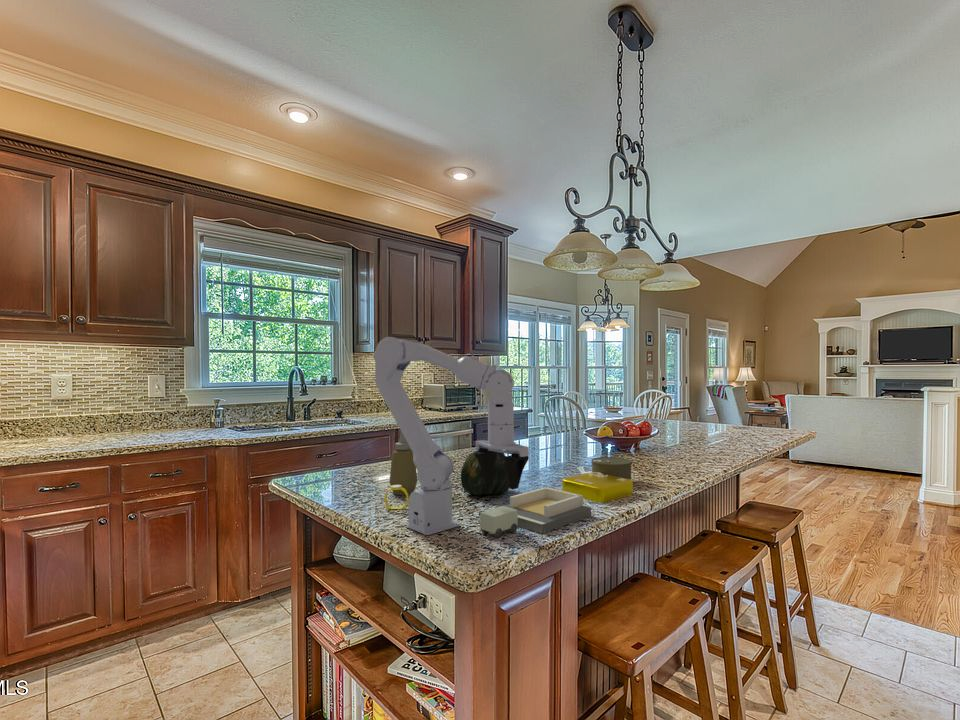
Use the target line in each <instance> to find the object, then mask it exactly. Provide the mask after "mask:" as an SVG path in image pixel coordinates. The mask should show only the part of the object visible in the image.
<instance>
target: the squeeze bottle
mask: <svg viewBox="0 0 960 720" xmlns="http://www.w3.org/2000/svg"><path fill="white" fill-rule="evenodd" d="M394 446H395V447H394V449H395V450H393V451H392V453H391V460H390V461H391V463H390V471H389V484H390V487H391V486H392V485H401V486H402V488H404V489H405V490H406V491H407V493H408V495H410V494H411V493H412V492H413V491H416V488H417V487H416V486H417V483H418V476H417V468H416V466H415V464H414V461H413V451H412V450H411V448H410V446H409V444H408V442H407V440H406V439H405V437H404V435H403V433H402V431H401V430H400V435H399V440H398V442H396V443H394ZM391 491H392V493H393V495H397V496H406V494H405V493H404V491H402V490H400V489H399V490H391Z"/></svg>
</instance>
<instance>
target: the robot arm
mask: <svg viewBox="0 0 960 720" xmlns="http://www.w3.org/2000/svg"><path fill="white" fill-rule="evenodd" d="M372 356H373V359H374V362H375V366H374V368H375V369H374V372H375V377H374V379H375V380H374V381H375V385H376V388H377V389H378V391H379V394H380V396H381V397H382V398H383V401H384V403H385V404H386V405H387V408H388V409H389V412H390V413H391V415H392V417H393V418H394V420H395V422H396V425H397V426H398V428H399V431H400V432H401V431H402V433H403V435H404V437H405V439H406V440H407V442H408V444H409V446H410V448H411V450H412V451H413V461H414V464H415V466H416V471H417V481H418V482H419V487H418V489H417V490H416V489H415V490H414V491H413V492H412V493H411V494H409V495H408V497H409V500H408V524H406V527H407V528H408V529H411V530H413V531H415V532H418V533H420V534H423V535H425V536H430V535H434V534H437V533H440V532H443V531H444V532H445V531H447V530H450V529H454V528H456V527H460V526H461V522H458V521H456V520H453V483H452V482H451V480H450V477H451V475H452V474H453V471H454V462H453V460H452V459H451V457H450V456H449V455H448V454H446V453H445V452H443V450H442V449H441V447H440V446H439V445H438V444H437V443H436V442H435V441H434V440H433V439H432V437H431V435H430V433H429V431H428V429H427V428H426V426H425V424H424V422H423V421H422V418H421V417H420V414H419V413H418V411H417V410H416V408H415V406H414V404H413V403H412V401H411V399H410V397H409V395H408V394H407V392H406V390H405V388H404V386H403V385H402V383H401V381H402V379H403V378H402V377H403V375H404V372H405V370H406V369H407V368H408V366H409V365H410V363H412V362H426V363H428V364H431V365H434V366H436V367H440V368H442V369H445V370H448V371H451V372H453V373H454V375H455V377H456V380H457V381H460V382H463V383H465V384H467V385H470V386H473V387H474V388H478V389H481V390H485V389H486V390H487V392H488V403H487V440H485V439H484V440H482V439H479V440H475V450H476V451H477V450H479V452H476V451H474V452H475V456H476V458H477V460H478V462H479V464H480V466H481V469H482V472H483V476H484V480H485V483H487V484H488V483H492V482H494V470H495V461H496V456H497V453H498V452H500V453H504V454H505V455H506V454H508V455H507V456H506V457H505V461H506V464H507V468H508V474H509V487H510V488H509V490H516V489H518V488H519V487H520V481H521V478H522V474H523V472H524V468H525V467H526V465H527V463H528V461H529V459H530V458H529V457H530V452H529V451H530V450H529V449H530V447H529V446H525V445H522V444H517V443H516V442H515V433H514V432H515V431H514V429H515V427H514V426H515V425H514V423H515V420H514V419H515V418H514V417H515V414H514V411H515V410H514V406H515V405H514V404H515V403H514V402H513V399H514V396H513V395H514V394H513V391H512V390H513V388H514V385H515V380H514V377H513V375H512V374H511V373H510V372H508V371H507V370H506V369H503V368H499V369H497V367H498V365H496V364H494V363H493V364H489V363H485V362H483V361H480V360H478V356H475V355H471V356H467V355H465V356H464V357H460V358H458V357H454V356H452V355H450V354H447V353H445V352H443V351H441V350H438V349H436V348H434V347H431V346H429V345H427V344H424V343H419V342H414V341H410V340H407V339H402V338H401V339H400V338H397V337H393V336H386V337H383V338H382V339H381V340H380V341H379V342H378V343H377V346H376V347H375V350H374V353H373V355H372Z"/></svg>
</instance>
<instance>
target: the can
mask: <svg viewBox="0 0 960 720" xmlns="http://www.w3.org/2000/svg"><path fill="white" fill-rule="evenodd" d="M591 466H592V467H591V470H592V471H591V472H599V473H601V474H606V475H611V476H616V477H621V478H626V479H631V480H632V460H630V459H628V458H622V457H614V456H613V457H612V456H608V457H607V456H604V457H600V456H599V457H595V458H592V459H591Z"/></svg>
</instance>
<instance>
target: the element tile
mask: <svg viewBox="0 0 960 720" xmlns="http://www.w3.org/2000/svg"><path fill="white" fill-rule="evenodd" d="M561 480H562V491H565V492H570V493H574V494H579V495H583V498H584V499H583V500H586V499H587V500H586V501H590V500H591V502H594V501H595V503H598V502H601V503H600V504H603V503H602V502H607V503H610V502H613V501H612V500H614V501H616V500H615V499H617V500H620V499H619V498H621V499H623V498H622V497H624V498H626V497H625V496H628V497H630V496H629V495H631V496H633V495H634V481H633V479H632V478H631V479H626V478H621V477H616V476H611V475H606V474H601V473H599V472H592V471H591V472H587V473H586V472H585V473H582V474H578V475H577V474H576V475H573V476H568V477H565V478H562V479H561ZM632 494H633V495H632ZM609 501H610V502H609Z"/></svg>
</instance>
